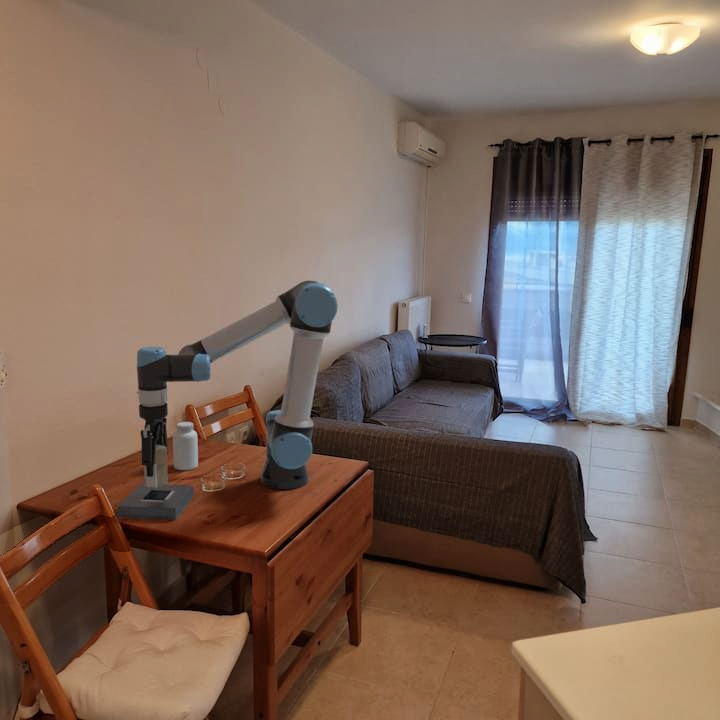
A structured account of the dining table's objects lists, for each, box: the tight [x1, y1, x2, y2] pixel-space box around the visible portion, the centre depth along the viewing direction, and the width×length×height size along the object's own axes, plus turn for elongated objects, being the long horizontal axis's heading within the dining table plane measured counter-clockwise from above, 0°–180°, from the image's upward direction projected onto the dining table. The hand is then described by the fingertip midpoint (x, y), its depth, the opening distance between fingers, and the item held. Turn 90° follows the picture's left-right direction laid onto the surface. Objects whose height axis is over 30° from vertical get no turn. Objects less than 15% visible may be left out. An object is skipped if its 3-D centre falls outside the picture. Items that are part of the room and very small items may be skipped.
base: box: [117, 483, 195, 521], centre depth 178 cm, size 16×16×4 cm
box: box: [143, 444, 169, 489], centre depth 176 cm, size 5×4×11 cm
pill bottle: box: [172, 421, 199, 471], centre depth 208 cm, size 8×8×15 cm
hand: (156, 481), depth 176 cm, fingers closed on box, 6 cm apart
